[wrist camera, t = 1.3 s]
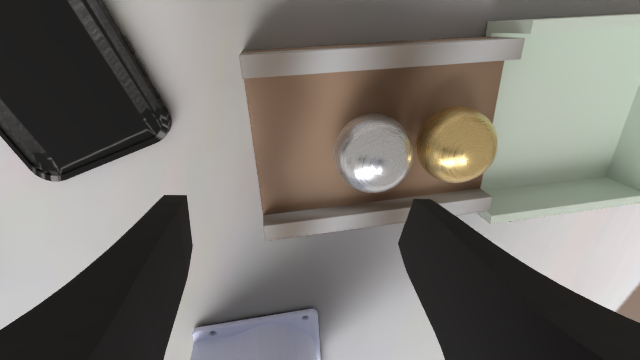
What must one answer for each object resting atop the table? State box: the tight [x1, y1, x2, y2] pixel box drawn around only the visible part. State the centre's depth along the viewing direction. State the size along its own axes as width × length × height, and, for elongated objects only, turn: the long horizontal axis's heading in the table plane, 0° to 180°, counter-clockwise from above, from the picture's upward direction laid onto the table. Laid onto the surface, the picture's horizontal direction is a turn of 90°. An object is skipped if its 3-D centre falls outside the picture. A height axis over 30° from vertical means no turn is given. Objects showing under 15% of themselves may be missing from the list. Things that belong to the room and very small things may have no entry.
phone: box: [0, 0, 171, 181], centre depth 15 cm, size 8×1×15 cm
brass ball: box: [416, 106, 498, 183], centre depth 17 cm, size 4×4×4 cm
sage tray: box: [477, 13, 640, 224], centre depth 20 cm, size 12×12×4 cm
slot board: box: [239, 36, 525, 241], centre depth 19 cm, size 14×10×3 cm
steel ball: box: [334, 114, 413, 193], centre depth 17 cm, size 4×4×4 cm
